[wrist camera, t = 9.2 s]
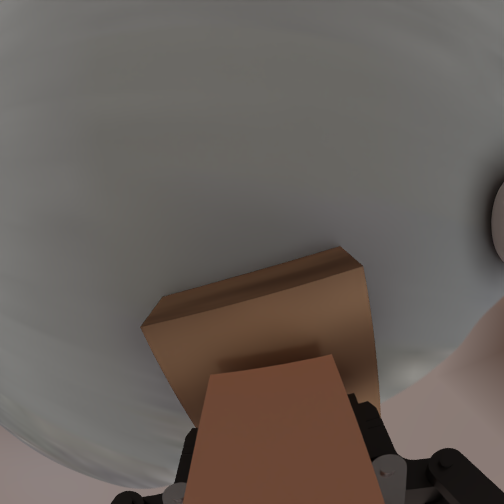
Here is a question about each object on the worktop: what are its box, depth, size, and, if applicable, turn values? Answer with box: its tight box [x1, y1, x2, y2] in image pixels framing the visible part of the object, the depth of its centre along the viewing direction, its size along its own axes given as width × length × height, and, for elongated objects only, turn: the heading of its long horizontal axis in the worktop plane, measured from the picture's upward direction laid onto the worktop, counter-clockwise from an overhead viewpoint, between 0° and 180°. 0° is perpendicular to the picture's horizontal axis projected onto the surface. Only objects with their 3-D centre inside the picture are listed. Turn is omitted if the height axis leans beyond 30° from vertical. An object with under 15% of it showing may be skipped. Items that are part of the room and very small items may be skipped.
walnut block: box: [141, 246, 381, 428], centre depth 15 cm, size 10×10×4 cm
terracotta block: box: [183, 354, 385, 504], centre depth 9 cm, size 5×5×7 cm
